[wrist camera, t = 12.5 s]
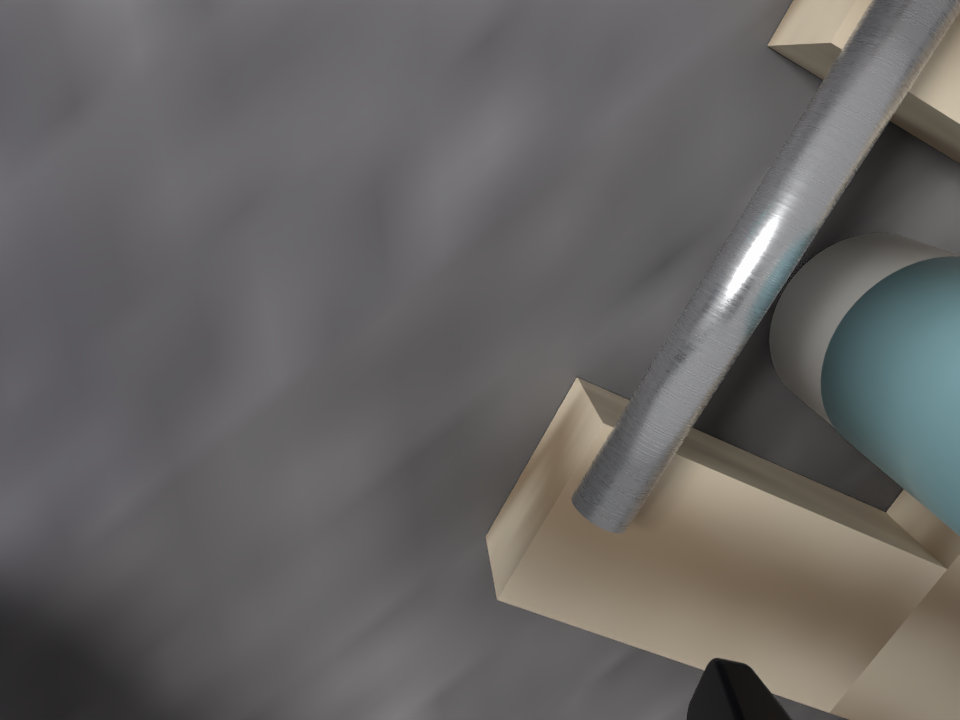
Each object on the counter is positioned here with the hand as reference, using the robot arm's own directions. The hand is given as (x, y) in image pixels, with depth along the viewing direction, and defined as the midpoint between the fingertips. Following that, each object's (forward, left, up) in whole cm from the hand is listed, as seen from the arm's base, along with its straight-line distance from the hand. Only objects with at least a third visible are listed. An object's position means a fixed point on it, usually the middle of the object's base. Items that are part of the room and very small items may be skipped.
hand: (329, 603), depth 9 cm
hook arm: (+5, -7, -9) cm, 13 cm away
